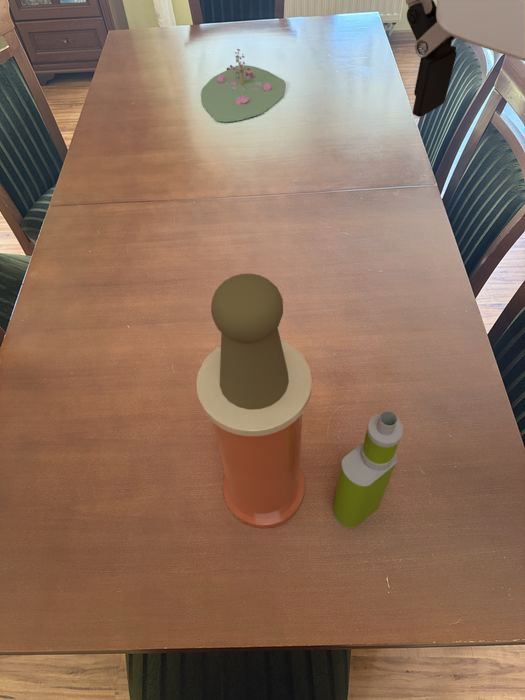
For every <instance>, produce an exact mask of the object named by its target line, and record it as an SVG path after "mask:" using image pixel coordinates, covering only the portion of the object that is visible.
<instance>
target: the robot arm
mask: <svg viewBox="0 0 525 700" xmlns="http://www.w3.org/2000/svg"><path fill="white" fill-rule="evenodd" d="M405 4H406V5H407V7H408V8H407V11H406V19H407V22H408V24H409V27H410V29H411V31H412V34H413V36H414V38H415V41H416V42H415V45H414V52H415V54H416V55H417V56H418V57H419V58H420V60H419V65H418V71H417V76H416V80H415V86H414V97H415V98H414V103H413V107H412V115H413V116H415V117H418V118H421V117H424V116H425V115H427V114H429V113H431V112H432V111H434V110H435V109H437V108H439V107H441V106H442V105H443V104H444V103H445V101H446V99H447V95H448V91H449V86H450V83H451V78H452V74H453V70H454V65H455V64H456V63H455V62H456V58H457V54H458V53H457V47H456V46H454V45H452V43H453V42H454V41H455V40H456V39H458V40H461V41H463V42H466V43H469V44H472V45H475V46H478V47H481V48H484V49H487V50H490V51H492V52H496V53H499V54H501V55H505V56H507V57H511V58H514V59H516V60H518V61H519V60H520V61H523V62H525V0H436V3H435V1H434V0H405Z"/></svg>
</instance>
